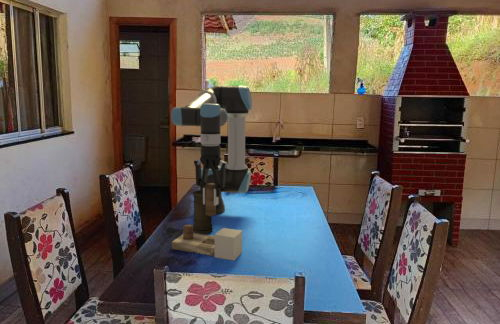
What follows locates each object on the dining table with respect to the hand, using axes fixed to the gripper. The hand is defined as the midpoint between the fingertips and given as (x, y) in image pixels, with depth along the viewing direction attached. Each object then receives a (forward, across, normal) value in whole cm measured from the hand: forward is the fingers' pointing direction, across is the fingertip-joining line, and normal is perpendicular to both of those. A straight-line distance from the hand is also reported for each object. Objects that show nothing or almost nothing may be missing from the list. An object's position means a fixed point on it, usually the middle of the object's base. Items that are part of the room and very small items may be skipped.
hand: (210, 203), depth 153 cm
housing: (+19, +9, -3) cm, 21 cm away
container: (+19, -12, +17) cm, 28 cm away
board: (+19, -5, 0) cm, 19 cm away
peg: (+4, 0, 0) cm, 4 cm away
